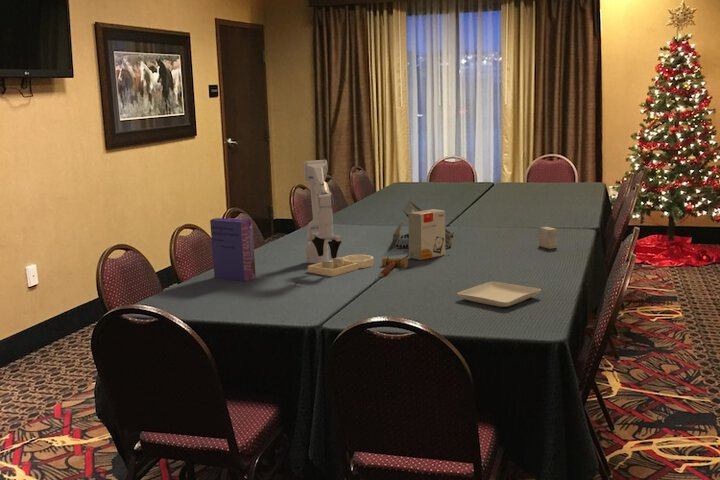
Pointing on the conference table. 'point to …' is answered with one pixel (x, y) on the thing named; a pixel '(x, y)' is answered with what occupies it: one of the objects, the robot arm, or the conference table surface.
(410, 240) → the hard drive box
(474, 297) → the salad plate
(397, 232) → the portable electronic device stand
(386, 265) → the gavel
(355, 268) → the tray
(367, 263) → the bowl
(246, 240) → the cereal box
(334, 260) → the stone
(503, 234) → the conference table surface
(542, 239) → the medicine box
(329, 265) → the stone
